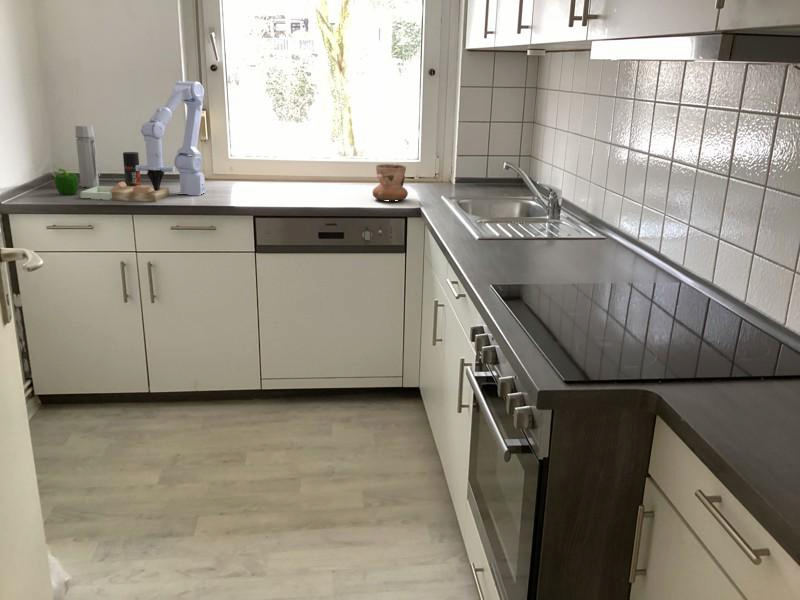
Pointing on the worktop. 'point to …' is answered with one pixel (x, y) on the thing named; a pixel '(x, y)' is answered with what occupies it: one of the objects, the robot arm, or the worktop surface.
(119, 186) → the tile
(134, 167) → the deodorant
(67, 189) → the bell pepper
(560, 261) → the worktop surface
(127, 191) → the board
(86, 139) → the water bottle
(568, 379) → the worktop surface
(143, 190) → the tile
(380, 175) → the brown clay vase
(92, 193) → the tray
